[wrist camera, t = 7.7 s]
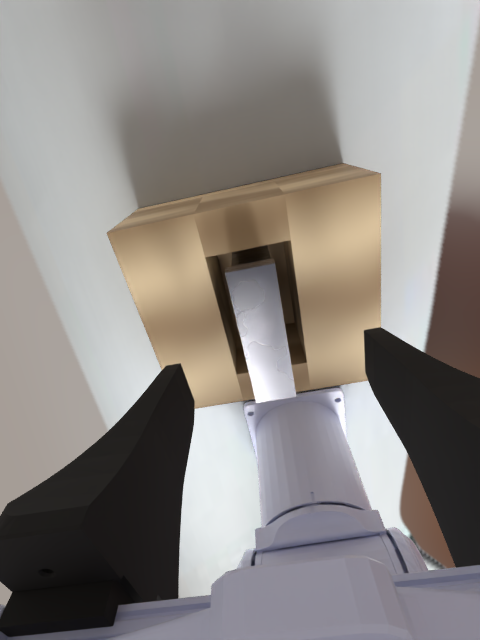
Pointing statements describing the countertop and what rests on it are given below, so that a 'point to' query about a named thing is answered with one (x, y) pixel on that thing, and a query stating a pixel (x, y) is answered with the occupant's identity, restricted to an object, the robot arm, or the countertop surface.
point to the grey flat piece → (261, 323)
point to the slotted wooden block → (291, 267)
